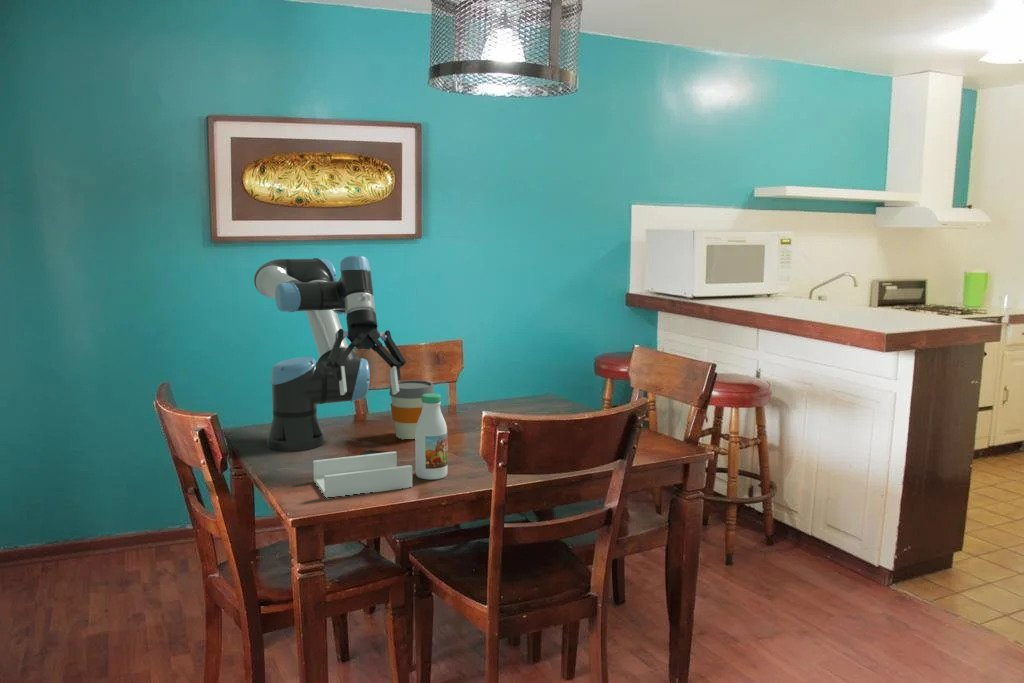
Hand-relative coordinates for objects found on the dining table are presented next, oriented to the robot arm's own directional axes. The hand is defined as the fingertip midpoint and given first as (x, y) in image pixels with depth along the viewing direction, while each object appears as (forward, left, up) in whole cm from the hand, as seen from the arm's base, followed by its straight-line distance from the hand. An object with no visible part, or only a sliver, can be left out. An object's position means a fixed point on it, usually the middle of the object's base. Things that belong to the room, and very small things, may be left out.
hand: (370, 393), depth 202 cm
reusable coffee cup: (-25, +19, -19) cm, 37 cm away
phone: (-5, +1, -19) cm, 20 cm away
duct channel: (+12, -5, -19) cm, 23 cm away
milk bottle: (+12, +12, -19) cm, 25 cm away
